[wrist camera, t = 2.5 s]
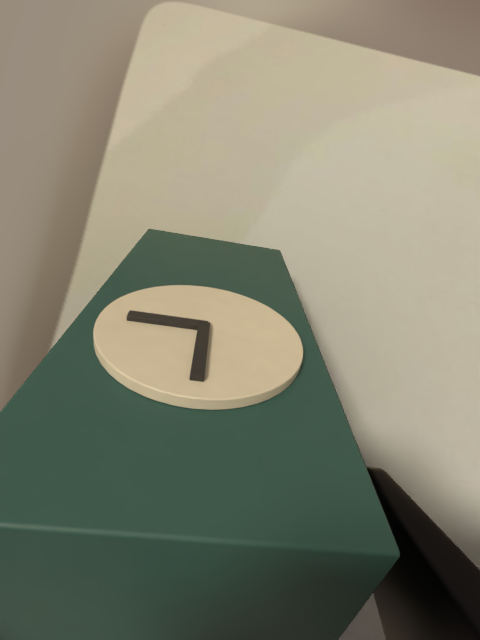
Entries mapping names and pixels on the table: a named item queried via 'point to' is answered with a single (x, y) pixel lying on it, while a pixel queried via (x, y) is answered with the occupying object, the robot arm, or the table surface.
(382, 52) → the table surface
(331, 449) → the clock
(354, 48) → the table surface
